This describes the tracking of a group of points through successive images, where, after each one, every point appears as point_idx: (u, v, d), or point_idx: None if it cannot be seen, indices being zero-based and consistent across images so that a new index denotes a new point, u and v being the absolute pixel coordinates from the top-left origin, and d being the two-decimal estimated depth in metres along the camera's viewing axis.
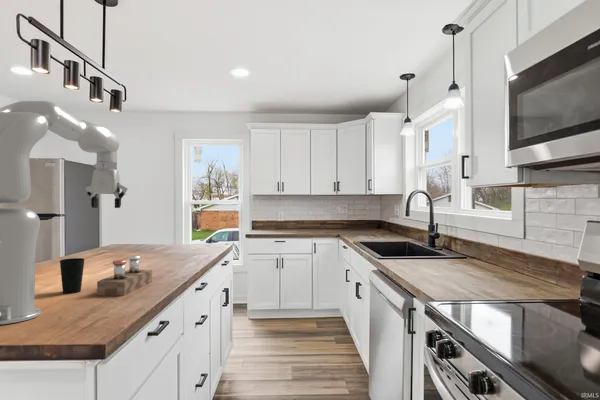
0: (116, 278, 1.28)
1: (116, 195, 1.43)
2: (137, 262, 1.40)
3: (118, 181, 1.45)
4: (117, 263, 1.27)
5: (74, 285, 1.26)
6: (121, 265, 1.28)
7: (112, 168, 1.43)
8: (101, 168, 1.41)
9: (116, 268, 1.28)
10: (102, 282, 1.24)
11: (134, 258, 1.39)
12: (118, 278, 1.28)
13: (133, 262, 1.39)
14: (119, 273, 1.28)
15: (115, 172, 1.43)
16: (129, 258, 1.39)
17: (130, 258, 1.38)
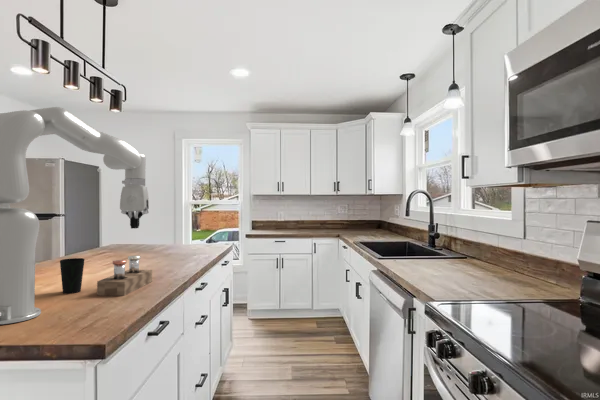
0: (116, 278, 1.28)
1: (136, 215, 1.39)
2: (137, 262, 1.40)
3: (147, 198, 1.41)
4: (117, 263, 1.27)
5: (75, 285, 1.26)
6: (121, 265, 1.28)
7: (141, 185, 1.39)
8: (130, 185, 1.37)
9: (116, 268, 1.28)
10: (102, 282, 1.24)
11: (134, 258, 1.39)
12: (118, 278, 1.28)
13: (133, 262, 1.39)
14: (119, 273, 1.28)
15: (144, 189, 1.39)
16: (129, 258, 1.39)
17: (130, 258, 1.38)
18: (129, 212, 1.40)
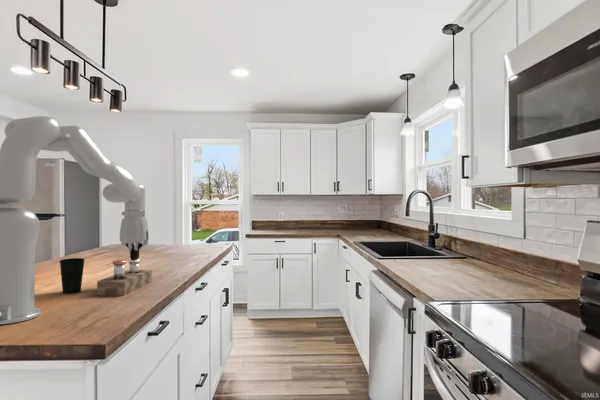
0: (116, 278, 1.28)
1: (136, 247, 1.39)
2: (137, 265, 1.40)
3: (147, 229, 1.41)
4: (117, 263, 1.27)
5: (74, 285, 1.26)
6: (121, 265, 1.28)
7: (141, 216, 1.39)
8: (130, 217, 1.37)
9: (116, 268, 1.28)
10: (102, 282, 1.24)
11: (134, 261, 1.39)
12: (118, 278, 1.28)
13: (133, 265, 1.39)
14: (119, 273, 1.28)
15: (144, 220, 1.39)
16: (129, 261, 1.39)
17: (130, 261, 1.38)
18: (129, 244, 1.39)
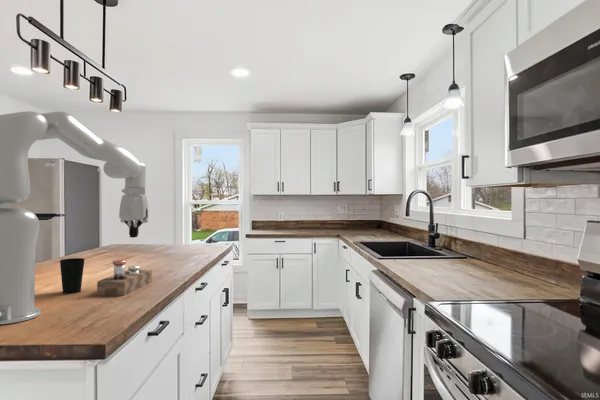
0: (116, 278, 1.28)
1: (135, 224, 1.39)
2: (137, 272, 1.40)
3: (146, 207, 1.41)
4: (117, 263, 1.27)
5: (74, 285, 1.26)
6: (121, 265, 1.28)
7: (141, 193, 1.39)
8: (130, 194, 1.37)
9: (116, 268, 1.28)
10: (102, 282, 1.24)
11: (134, 268, 1.39)
12: (118, 278, 1.28)
13: (132, 272, 1.39)
14: (119, 273, 1.28)
15: (144, 198, 1.39)
16: (129, 268, 1.39)
17: (130, 268, 1.38)
18: (128, 221, 1.39)
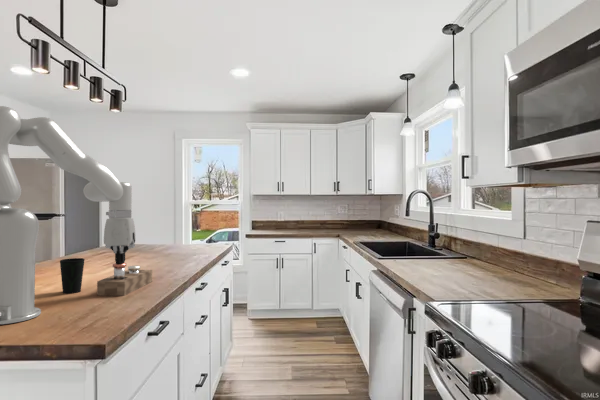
0: None
1: (121, 249, 1.28)
2: (137, 272, 1.40)
3: (133, 230, 1.30)
4: (117, 266, 1.27)
5: (74, 285, 1.26)
6: (121, 268, 1.28)
7: (127, 217, 1.28)
8: (114, 218, 1.26)
9: (116, 271, 1.28)
10: (102, 282, 1.24)
11: (134, 268, 1.39)
12: None
13: (132, 272, 1.39)
14: (119, 276, 1.28)
15: (130, 221, 1.28)
16: (129, 268, 1.39)
17: (130, 268, 1.38)
18: (114, 246, 1.29)
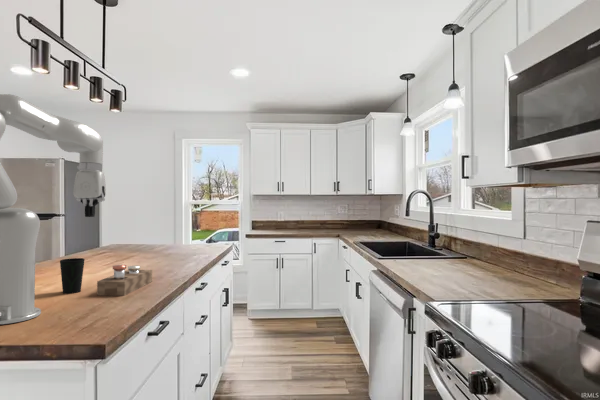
0: None
1: (91, 202, 1.29)
2: (137, 272, 1.40)
3: (103, 184, 1.31)
4: (117, 268, 1.27)
5: (75, 285, 1.26)
6: (121, 270, 1.28)
7: (96, 170, 1.29)
8: (84, 170, 1.27)
9: (116, 273, 1.28)
10: (102, 282, 1.24)
11: (134, 268, 1.39)
12: None
13: (132, 272, 1.39)
14: (119, 278, 1.28)
15: (99, 174, 1.29)
16: (129, 268, 1.39)
17: (130, 268, 1.38)
18: (83, 199, 1.29)
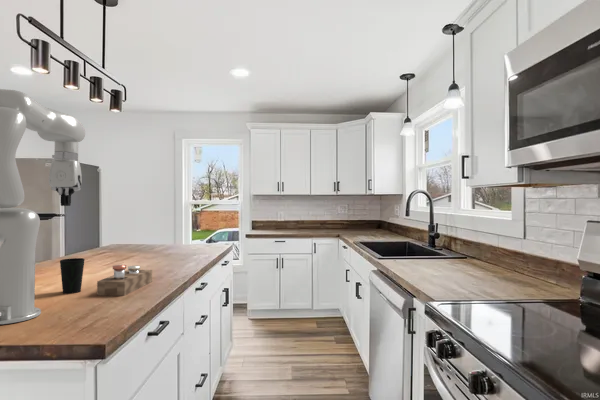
0: None
1: (66, 191, 1.30)
2: (137, 272, 1.40)
3: (79, 173, 1.32)
4: (117, 268, 1.27)
5: (74, 285, 1.26)
6: (121, 270, 1.28)
7: (72, 159, 1.30)
8: (59, 159, 1.28)
9: (116, 273, 1.28)
10: (102, 282, 1.24)
11: (134, 268, 1.39)
12: None
13: (132, 272, 1.39)
14: (119, 278, 1.28)
15: (75, 163, 1.31)
16: (129, 268, 1.39)
17: (130, 268, 1.38)
18: (59, 188, 1.31)
